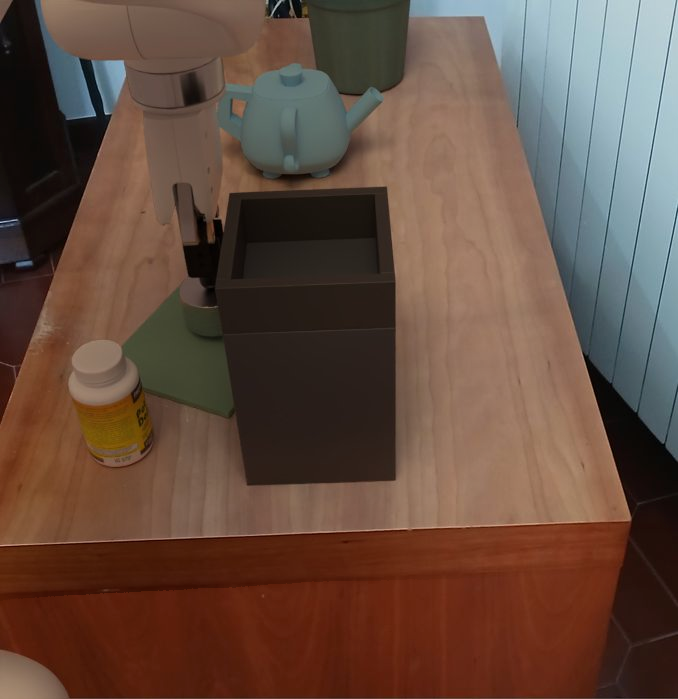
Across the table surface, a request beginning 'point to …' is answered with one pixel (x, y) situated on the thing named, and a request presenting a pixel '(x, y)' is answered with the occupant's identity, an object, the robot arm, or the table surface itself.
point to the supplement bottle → (110, 404)
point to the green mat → (181, 360)
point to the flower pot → (360, 42)
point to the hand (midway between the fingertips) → (207, 265)
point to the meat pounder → (201, 304)
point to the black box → (311, 333)
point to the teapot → (293, 121)
